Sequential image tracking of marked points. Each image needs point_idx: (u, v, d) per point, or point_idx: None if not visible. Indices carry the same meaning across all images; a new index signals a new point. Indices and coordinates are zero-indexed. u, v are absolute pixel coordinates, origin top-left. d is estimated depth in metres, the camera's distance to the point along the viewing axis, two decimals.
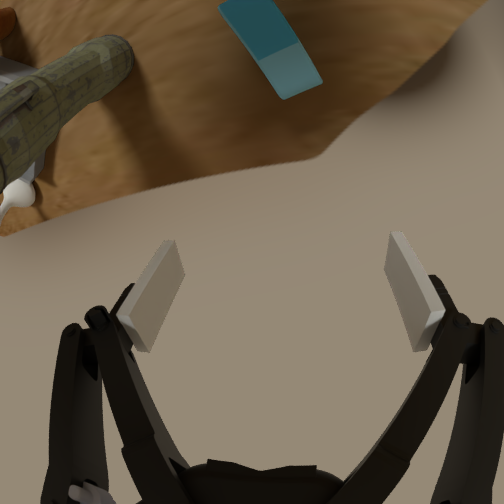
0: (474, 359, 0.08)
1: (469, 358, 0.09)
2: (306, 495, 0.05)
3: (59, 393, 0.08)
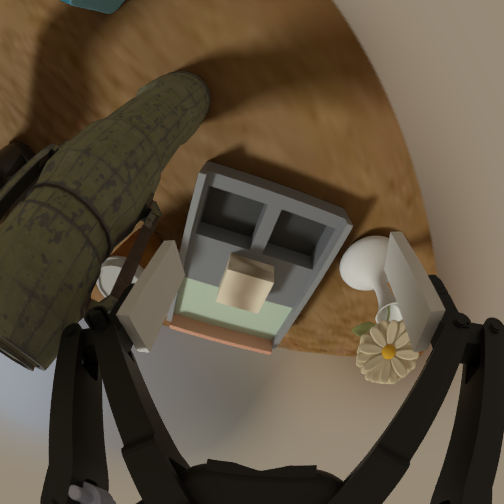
0: (474, 359, 0.08)
1: (469, 358, 0.09)
2: (306, 495, 0.05)
3: (59, 393, 0.08)
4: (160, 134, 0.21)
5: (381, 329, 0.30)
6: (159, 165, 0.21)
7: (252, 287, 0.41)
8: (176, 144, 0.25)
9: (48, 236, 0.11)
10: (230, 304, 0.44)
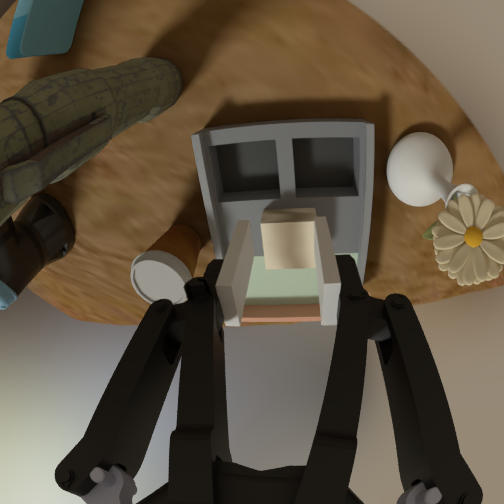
0: (379, 334, 0.11)
1: (373, 333, 0.11)
2: (306, 495, 0.05)
3: (124, 371, 0.09)
4: (112, 75, 0.19)
5: (452, 212, 0.19)
6: (108, 87, 0.17)
7: (296, 235, 0.35)
8: (138, 90, 0.22)
9: None
10: (282, 266, 0.38)
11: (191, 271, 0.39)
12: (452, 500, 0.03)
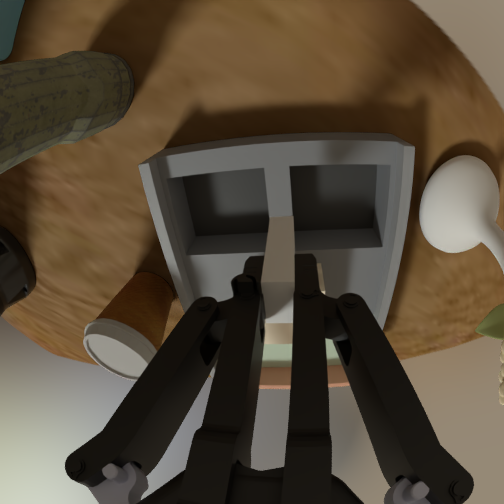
0: (333, 334, 0.11)
1: (327, 333, 0.12)
2: (306, 495, 0.05)
3: (156, 369, 0.09)
4: None
5: None
6: None
7: None
8: (40, 92, 0.11)
9: None
10: (274, 342, 0.27)
11: (157, 342, 0.28)
12: (441, 491, 0.04)
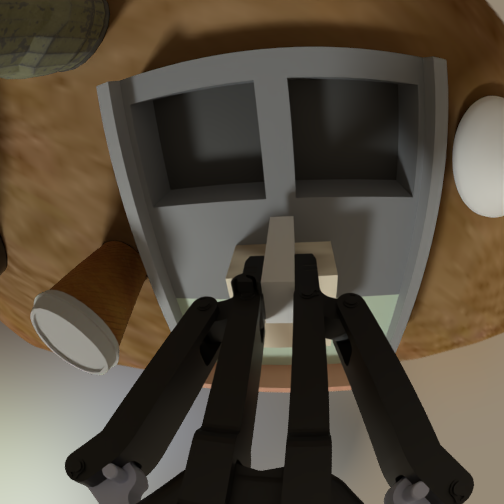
0: (333, 334, 0.11)
1: (327, 333, 0.12)
2: (306, 495, 0.05)
3: (156, 369, 0.09)
4: None
5: None
6: None
7: None
8: None
9: None
10: (270, 344, 0.21)
11: (116, 324, 0.21)
12: (441, 490, 0.04)
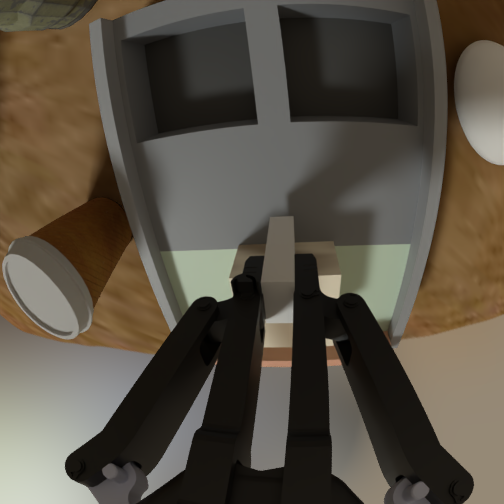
0: (333, 334, 0.11)
1: (327, 333, 0.12)
2: (306, 495, 0.05)
3: (156, 369, 0.09)
4: None
5: None
6: None
7: None
8: None
9: None
10: (273, 344, 0.21)
11: (91, 276, 0.18)
12: (441, 491, 0.04)
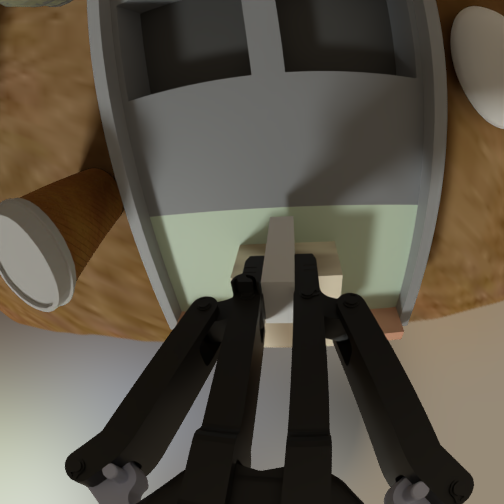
0: (333, 334, 0.11)
1: (327, 332, 0.12)
2: (306, 495, 0.05)
3: (156, 369, 0.09)
4: None
5: None
6: None
7: None
8: None
9: None
10: (274, 344, 0.21)
11: (74, 240, 0.17)
12: (441, 490, 0.04)
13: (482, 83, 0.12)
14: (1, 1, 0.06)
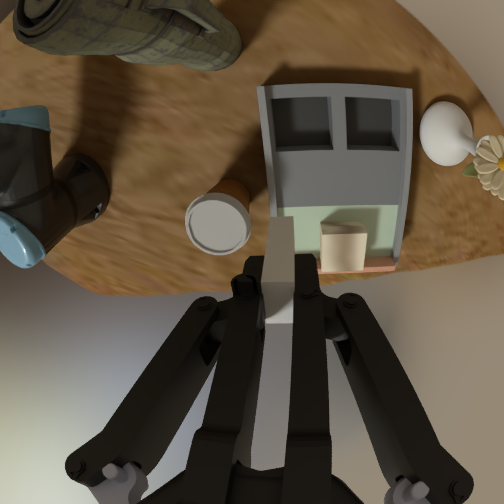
0: (333, 334, 0.11)
1: (327, 332, 0.12)
2: (306, 495, 0.05)
3: (156, 369, 0.09)
4: None
5: (486, 149, 0.20)
6: None
7: (349, 244, 0.41)
8: (222, 25, 0.23)
9: None
10: (335, 269, 0.44)
11: None
12: (441, 490, 0.04)
13: (432, 147, 0.35)
14: (188, 64, 0.30)
